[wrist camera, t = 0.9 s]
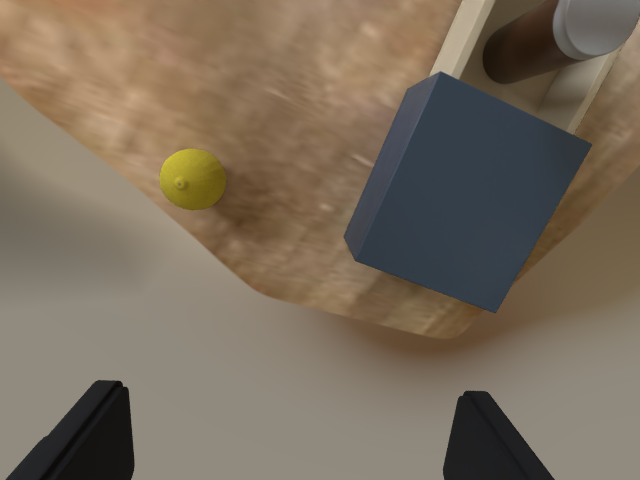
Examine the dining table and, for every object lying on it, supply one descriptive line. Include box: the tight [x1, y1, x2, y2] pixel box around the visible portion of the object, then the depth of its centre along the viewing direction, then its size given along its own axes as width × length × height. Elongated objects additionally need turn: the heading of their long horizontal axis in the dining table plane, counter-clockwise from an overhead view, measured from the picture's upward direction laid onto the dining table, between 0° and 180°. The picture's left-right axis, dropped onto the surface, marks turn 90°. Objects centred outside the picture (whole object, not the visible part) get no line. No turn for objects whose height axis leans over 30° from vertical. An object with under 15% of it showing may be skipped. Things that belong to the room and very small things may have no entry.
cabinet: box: [344, 71, 592, 313], centre depth 33 cm, size 16×14×8 cm
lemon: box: [159, 149, 226, 210], centre depth 32 cm, size 6×6×8 cm
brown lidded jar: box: [483, 0, 640, 84], centre depth 27 cm, size 5×5×10 cm
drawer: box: [429, 0, 640, 135], centre depth 29 cm, size 20×13×7 cm
